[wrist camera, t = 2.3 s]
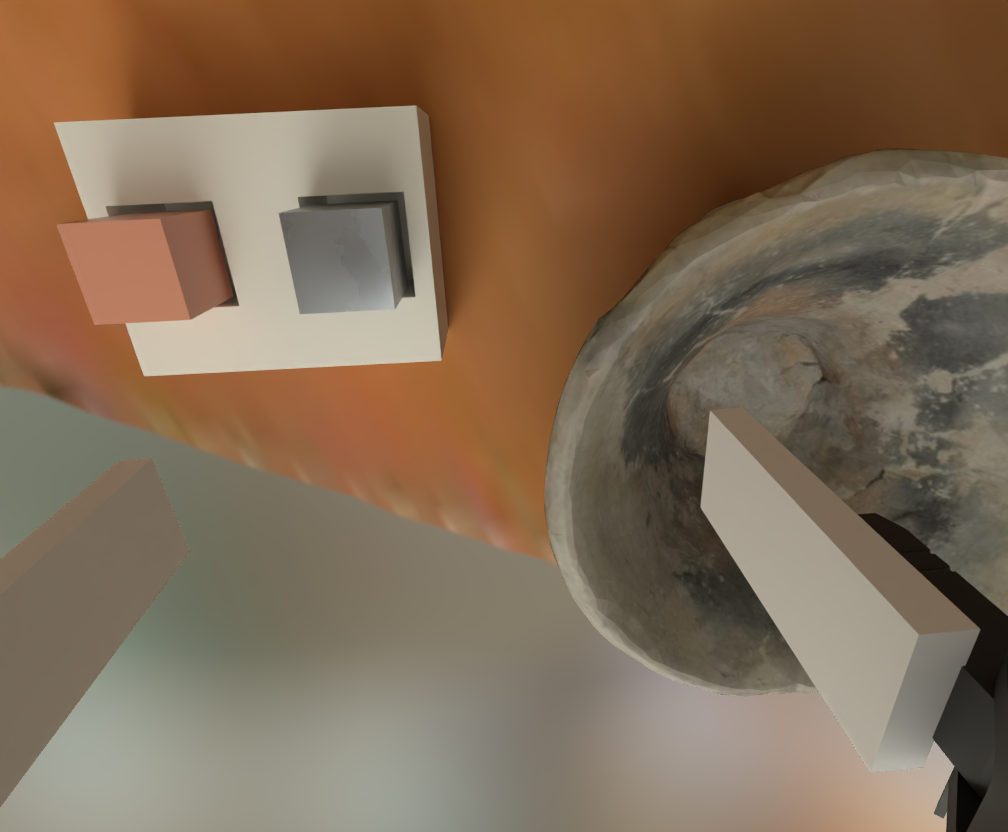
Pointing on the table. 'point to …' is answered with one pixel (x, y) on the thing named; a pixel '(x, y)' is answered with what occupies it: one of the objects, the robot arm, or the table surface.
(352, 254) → the grey metal cube
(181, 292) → the pink cube
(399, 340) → the block
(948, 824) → the robot arm
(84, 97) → the table surface
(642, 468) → the bowl
